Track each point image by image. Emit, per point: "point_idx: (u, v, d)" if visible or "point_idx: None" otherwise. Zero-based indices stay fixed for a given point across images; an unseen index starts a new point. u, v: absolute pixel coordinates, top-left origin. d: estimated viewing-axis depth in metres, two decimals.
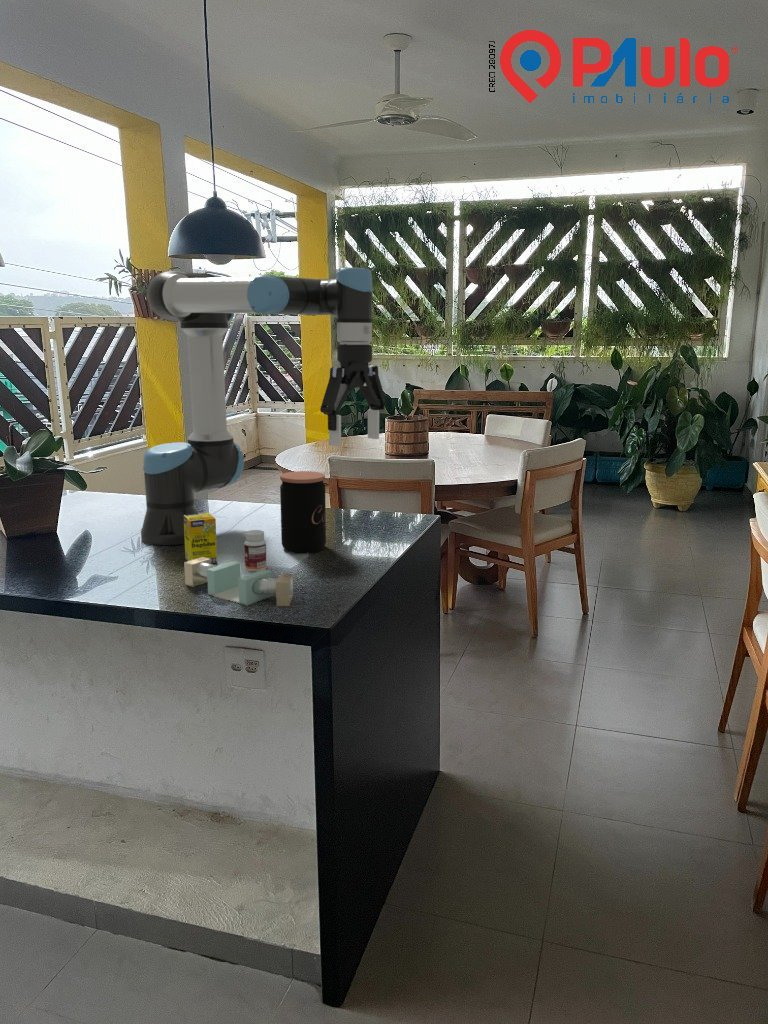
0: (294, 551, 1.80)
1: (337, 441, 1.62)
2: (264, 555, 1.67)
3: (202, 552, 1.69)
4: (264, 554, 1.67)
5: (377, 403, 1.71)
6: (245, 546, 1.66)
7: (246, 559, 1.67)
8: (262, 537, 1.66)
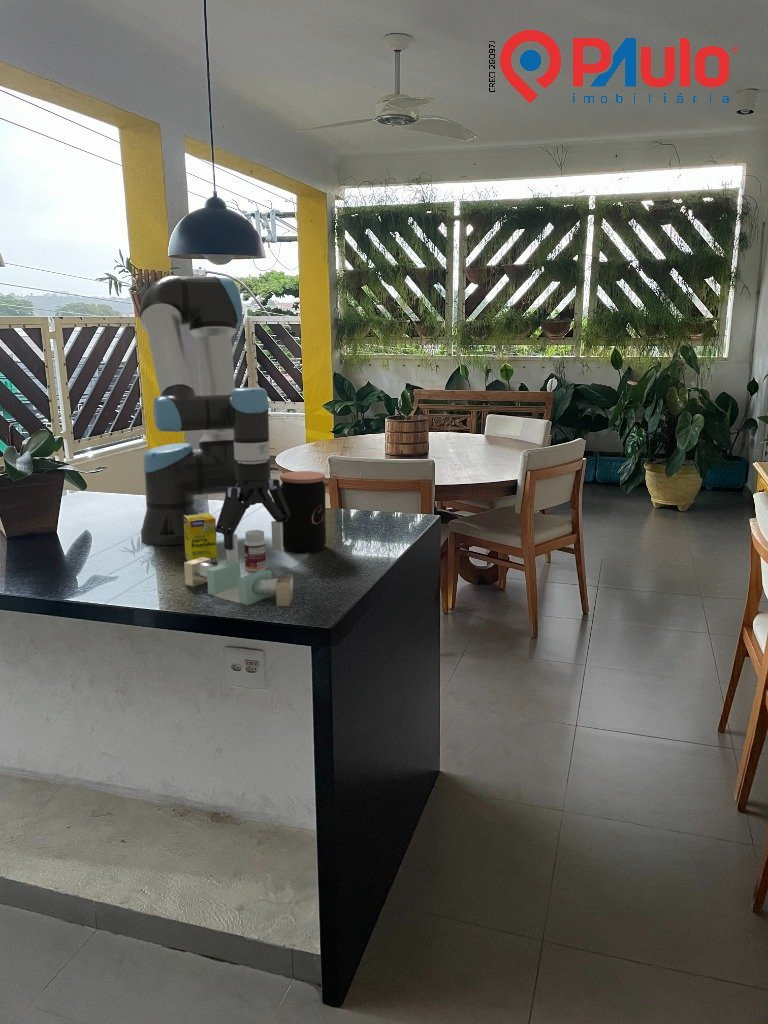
0: (294, 551, 1.80)
1: (234, 560, 1.61)
2: (264, 555, 1.67)
3: (202, 551, 1.69)
4: (264, 554, 1.67)
5: (280, 516, 1.70)
6: (245, 546, 1.66)
7: (246, 559, 1.67)
8: (262, 537, 1.66)
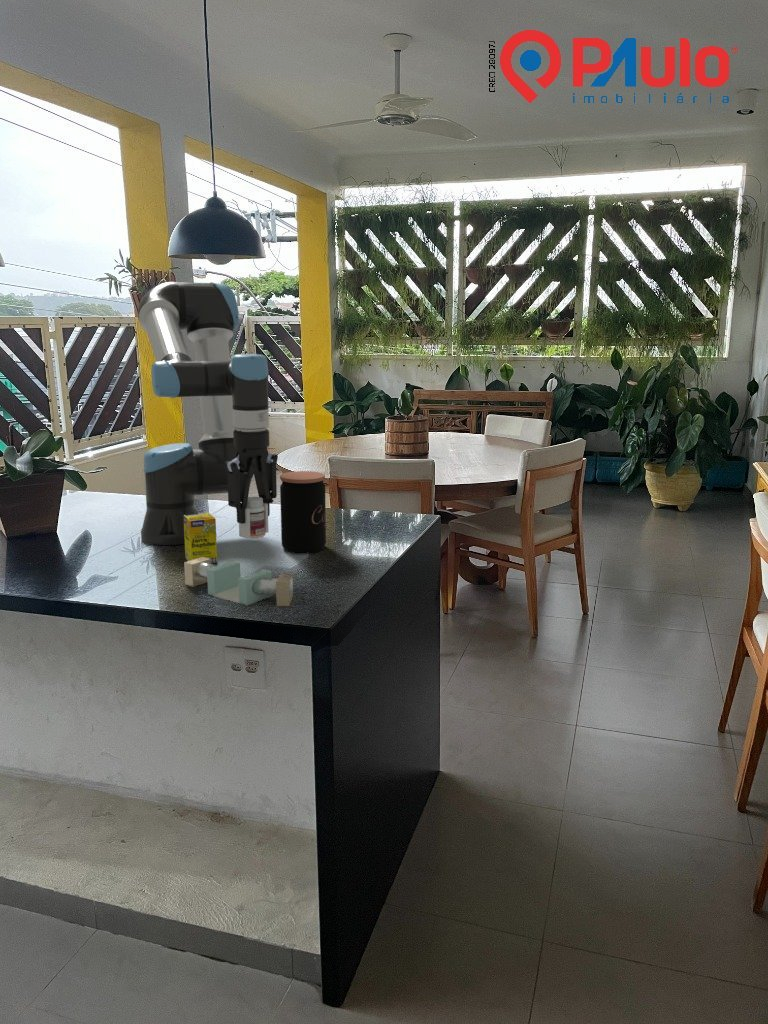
0: (294, 551, 1.80)
1: (246, 533, 1.64)
2: (263, 522, 1.66)
3: (202, 552, 1.69)
4: (263, 521, 1.66)
5: (267, 495, 1.67)
6: None
7: None
8: (260, 504, 1.65)
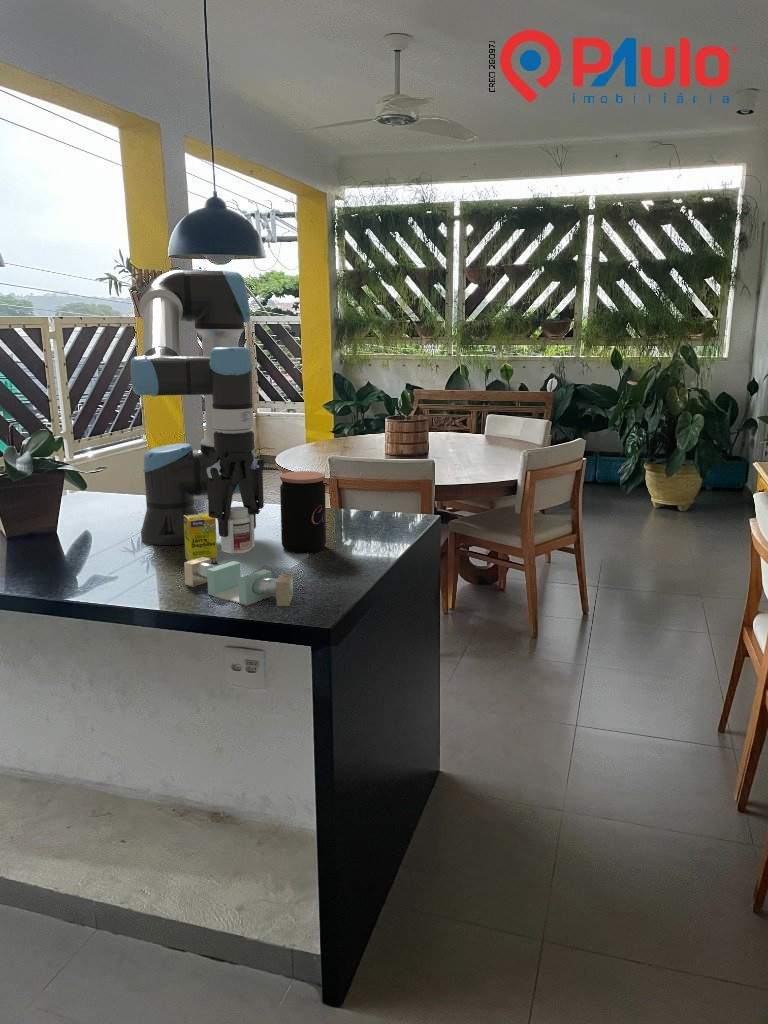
0: (294, 551, 1.80)
1: (229, 548, 1.46)
2: (248, 535, 1.48)
3: (202, 552, 1.69)
4: (248, 533, 1.48)
5: (252, 505, 1.49)
6: None
7: None
8: (245, 515, 1.47)
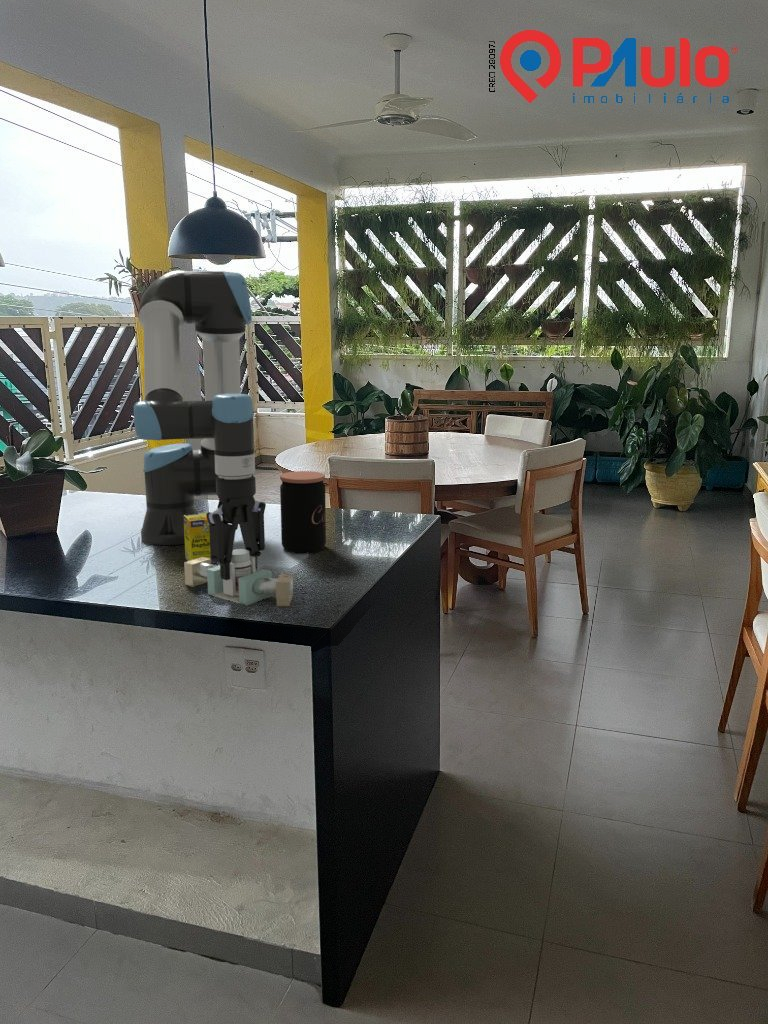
0: (294, 551, 1.80)
1: (231, 590, 1.48)
2: None
3: (202, 552, 1.69)
4: None
5: (254, 547, 1.51)
6: None
7: None
8: (247, 558, 1.49)
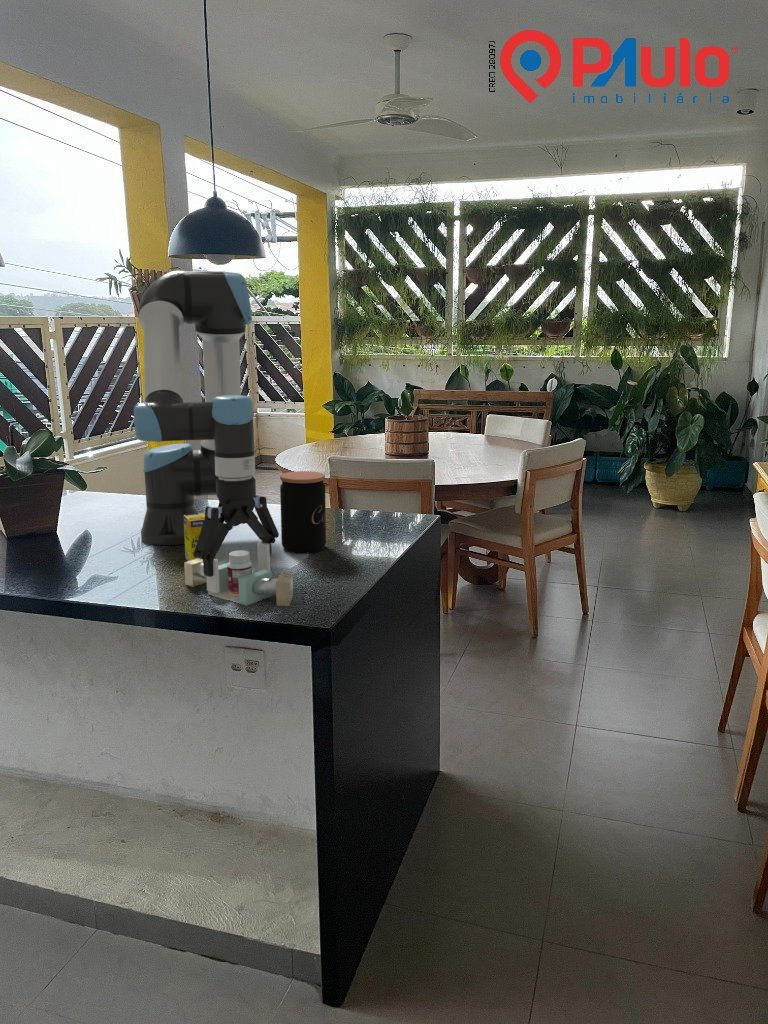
0: (294, 551, 1.80)
1: (215, 587, 1.45)
2: None
3: None
4: None
5: (266, 537, 1.54)
6: (228, 569, 1.49)
7: (230, 583, 1.50)
8: (247, 559, 1.49)
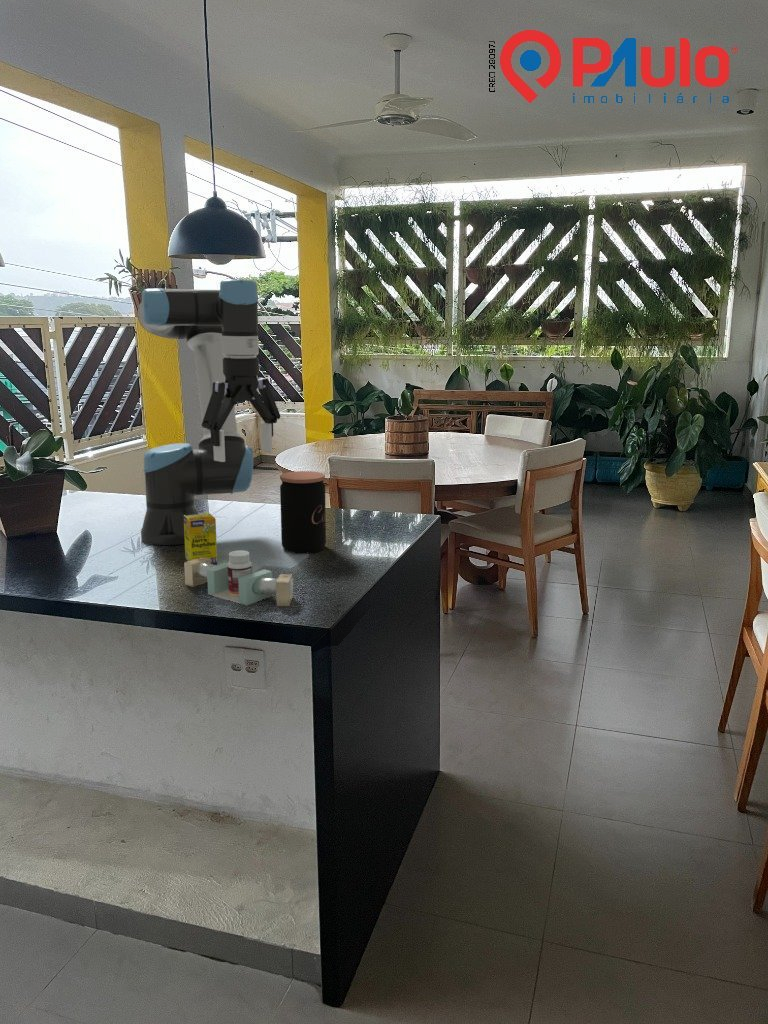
0: (294, 551, 1.80)
1: (221, 457, 1.59)
2: None
3: (202, 552, 1.69)
4: None
5: (269, 416, 1.67)
6: (228, 569, 1.49)
7: (230, 583, 1.50)
8: (247, 559, 1.49)
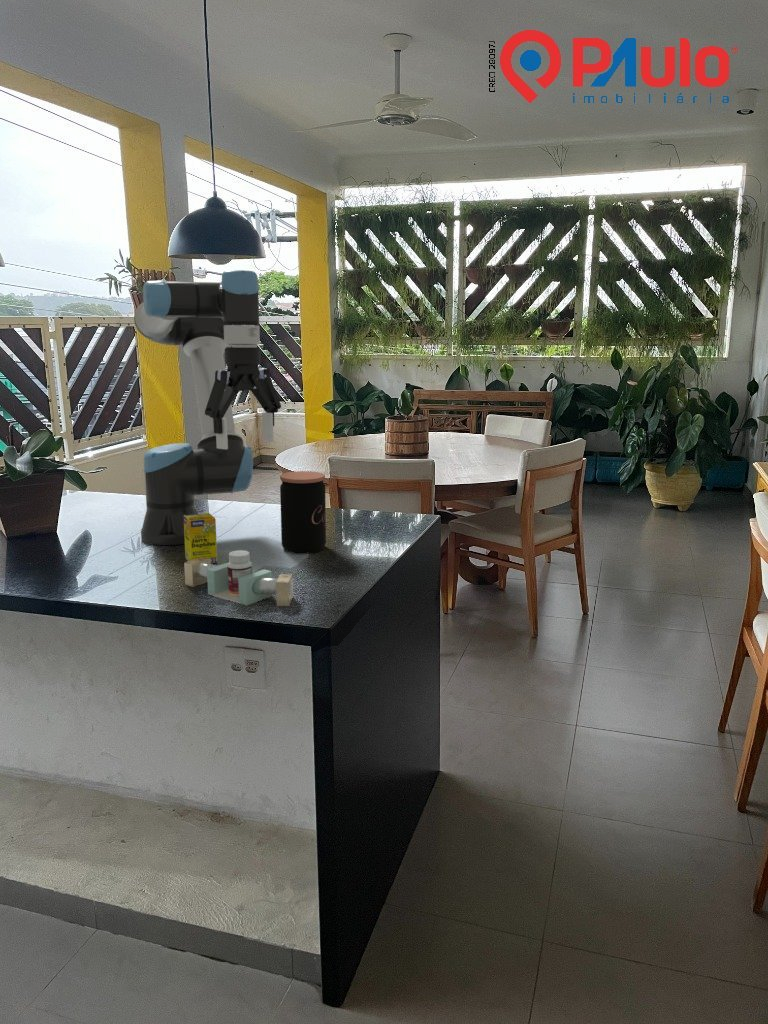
0: (294, 551, 1.80)
1: (223, 444, 1.61)
2: None
3: (202, 552, 1.69)
4: None
5: (270, 406, 1.70)
6: (228, 569, 1.49)
7: (230, 583, 1.50)
8: (247, 559, 1.49)
